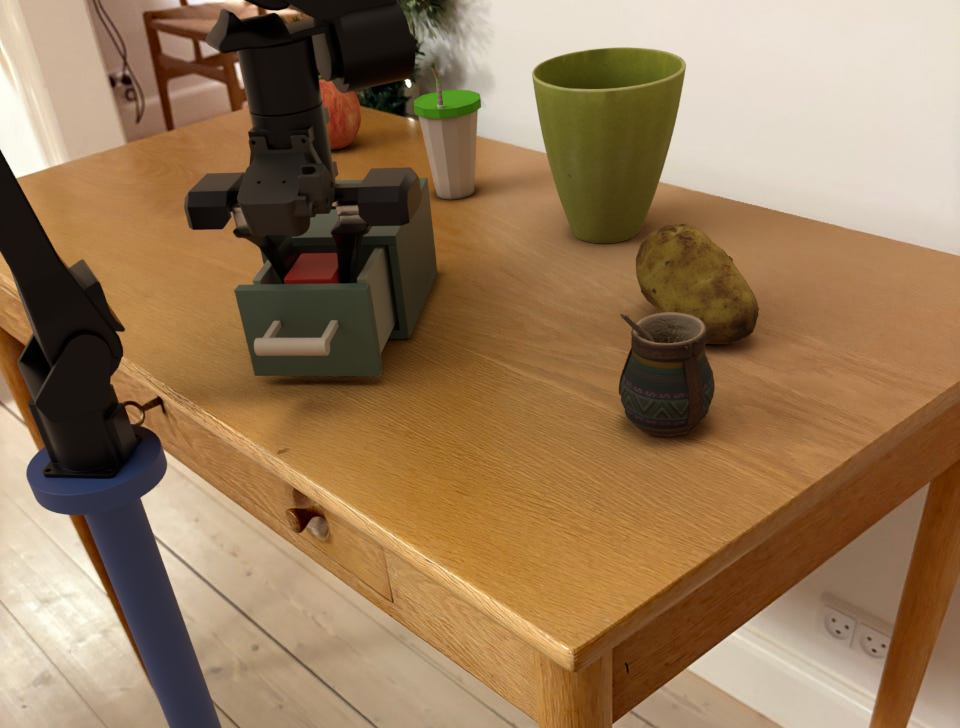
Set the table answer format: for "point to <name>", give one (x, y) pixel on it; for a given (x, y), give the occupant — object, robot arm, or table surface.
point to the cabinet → (393, 256)
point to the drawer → (320, 319)
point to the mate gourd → (667, 374)
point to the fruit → (340, 114)
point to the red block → (314, 269)
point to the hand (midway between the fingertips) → (321, 299)
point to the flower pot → (608, 134)
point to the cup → (450, 137)
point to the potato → (696, 282)
